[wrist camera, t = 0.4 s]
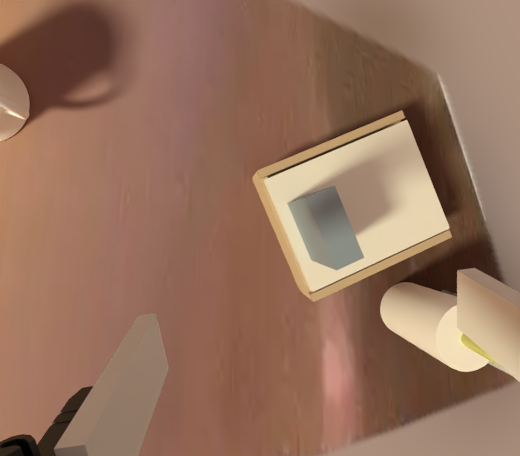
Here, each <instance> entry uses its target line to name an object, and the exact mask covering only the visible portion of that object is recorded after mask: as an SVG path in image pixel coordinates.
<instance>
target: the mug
mask: <svg viewBox="0 0 520 456" xmlns="http://www.w3.org/2000/svg"><path fill="white" fill-rule="evenodd" d="M29 108H30V101H29V95H28V91H27V89H26V87H25V85H24V83H23V81H22V80H21V79H20V77H19V76H18V75H17V74H16V73H15V72H14V71H12V70H11V69H10V68H8V67H6V66H5V65H3V64H1V63H0V142H1V141H4V140H6V139H8V138H10V137H12V136H13V135H15V134H16V133H17V132H18V131H19V130H20V129H21V128H22V126H23V125H24V123H25V122H26V119H27V118H28V117H29Z"/></svg>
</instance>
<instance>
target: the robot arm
mask: <svg viewBox="0 0 520 456" xmlns="http://www.w3.org/2000/svg"><path fill="white" fill-rule="evenodd" d="M457 328H458V329H460V330H461V331H462V332H463V333H464V334H465V335H466V336H468V337H469V338H470V339H471V340H472V341H473V342H474V343H476V344H477V345H478V346H479V347H480V348H481V349H482V350H484V351H485V352H486V353H487V354H488V355H489V356H490V357H492V358H493V359H494V360H495V361H496V362H497V363H498V364H500V365H501V366H502V367H503V368H504V369H505V370H506V371H508V372H509V373H510V374H511V375H512V376H513V377H515V378H516V379H517V380H518V381H519V382H520V292H518V291H516V290H514V289H513V288H511V287H509V286H507V285H505V284H503V283H502V282H500V281H498V280H496V279H494V278H492V277H491V276H489V275H487V274H485V273H483V272H481V271H480V270H478V269H476V268H470V269H463V270H457ZM168 369H169V368H168V363H167V359H166V355H165V350H164V346H163V342H162V337H161V333H160V329H159V324H158V320H157V316H156V313H154V314H147V315H140V316H138V317H137V319H136V320H135V322H134V323H133V325H132V326H131V328H130V330H129V331H128V333H127V334H126V336H125V337H124V339H123V341H122V342H121V344H120V345H119V347H118V348H117V350H116V352H115V353H114V355H113V356H112V358H111V359H110V361H109V363H108V364H107V366H106V367H105V369H104V371H103V372H102V374H101V375H100V377H99V378H98V380H97V382H96V383H95V385H94V386H91V387H84V388H82V389H81V390H79V391H78V392H77V393H76V394H75V395H74V396H72V397H71V398H70V399H69V400H68V402H67V403H66V404H65V406H64V407H63V409H62V410H61V412H60V415H58V416H57V417H56V419H55V420H54V422H53V425H52V426H50V427H49V429H48V430H47V432H46V433H45V434H44V436H43V437H42V439H41V440H40V442H39V443H38V444H36V441H35V439H34V438H33V437H32V436H31V435H24V434H22V435H17V436H13V437H10V438H8V439H6V440H3V441H1V442H0V456H138V455H139V452H140V449H141V446H142V443H143V440H144V438H145V435H146V432H147V429H148V426H149V423H150V420H151V418H152V415H153V412H154V409H155V406H156V403H157V400H158V398H159V395H160V392H161V389H162V386H163V383H164V380H165V378H166V375H167V372H168Z"/></svg>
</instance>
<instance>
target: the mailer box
mask: <svg viewBox="0 0 520 456" xmlns="http://www.w3.org/2000/svg"><path fill="white" fill-rule="evenodd" d="M404 118H405V116H404V114H403V111H399V112H397V113H394V114H392V115H390V116H387V117H385V118H382V119H380V120H378V121H375V122H373V123H370V124H368V125H366V126H363V127H361V128H358V129H356V130H354V131H351V132H349V133H346V134H344V135H342V136H339V137H337V138H334V139H332V140H330V141H327V142H325V143H322V144H320V145H318V146H315V147H313V148H310V149H308V150H306V151H303V152H301V153H298V154H296V155H294V156H291V157H289V158H286V159H284V160H282V161H279V162H277V163H274V164H272V165H270V166H267V167H265V168H262V169H260V170H258V171H257V172H256V173H255V175H254V176H253V178H252V180H253V182H254V185H255V187H256V189H257V192H258V194H259V196H260V199H261V201H262V203H263V206H264V208H265V210H266V213H267V215H268V217H269V220H270V222H271V224H272V227H273V229H274V232H275V234H276V236H277V239H278V241H279V243H280V246H281V248H282V250H283V253H284V255H285V257H286V260H287V262H288V264H289V267H290V269H291V271H292V274H293V276H294V278H295V281H296V283H297V285H298V288H299V290H300V291H301V292H302V293H303V294H305V295H306V296H307V297H308V298H309V299H311V300H312V301H313V302H315V301H317V300H319V299H321V298H323V297H325V296H328V295H330V294H332V293H334V292H336V291H338V290H340V289H343V288H345V287H347V286H349V285H351V284H353V283H355V282H357V281H360V280H362V279H364V278H366V277H368V276H370V275H372V274H374V273H377V272H379V271H381V270H383V269H385V268H387V267H389V266H392V265H394V264H396V263H398V262H400V261H402V260H404V259H406V258H409V257H411V256H413V255H415V254H417V253H419V252H421V251H423V250H426V249H428V248H430V247H432V246H434V245H436V244H438V243H440V242H443V241H445V240H447V239H449V238H451V237H452V236H451V233H450V231H449V230H445V231H443V232H441V233H438V234H436V235H434V236H432V237H430V238H428V239H426V240H423V241H421V242H419V243H417V244H415V245H413V246H410V247H408V248H406V249H404V250H402V251H400V252H398V253H395V254H393V255H391V256H389V257H387V258H385V259H383V260H380V261H378V262H376V263H374V264H372V265H370V266H368V267H365V268H363V269H361V270H359V271H357V272H355V273H353V274H350V275H348V276H346V277H344V278H342V279H340V280H338V281H335V282H333V283H331V284H329V285H327V286H325V287H322V288H320V289H318V290H316V291H314V292H312V291H310V289H309V287H308V285H307V282H306V280H305V278H304V275H303V273H302V271H301V268H300V266H299V263H298V261H297V259H296V256H295V254H294V252H293V249H292V247H291V245H290V242H289V240H288V238H287V235H286V233H285V230H284V228H283V226H282V223H281V221H280V219H279V216H278V214H277V212H276V209H275V207H274V205H273V202H272V200H271V197H270V195H269V193H268V190H267V188H266V186H265V183H264V180H265V179H267V178H270V177H272V176H275V175H277V174H279V173H282V172H284V171H286V170H289V169H291V168H294V167H296V166H298V165H301V164H303V163H305V162H308V161H310V160H313V159H315V158H317V157H320V156H322V155H324V154H327V153H329V152H332V151H334V150H336V149H339V148H341V147H343V146H346V145H348V144H351V143H353V142H355V141H358V140H360V139H362V138H365V137H367V136H370V135H372V134H374V133H377V132H379V131H381V130H384V129H386V128H389V127H391V126H393V125H396V124H398V123H400V122H401V121H400V120H402V119H404Z"/></svg>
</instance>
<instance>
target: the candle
mask: <svg viewBox="0 0 520 456" xmlns="http://www.w3.org/2000/svg"><path fill="white" fill-rule="evenodd" d="M380 311H381V317H382V319H383V322H384V323H385V325H386V326H387V327H388V328H389V329H390V330H392V331H393V332H395V333H396V334H398V335H400V336H401V337H403V338H404V339H406V340H408V341H409V342H411V343H412V344H414V345H416V346H417V347H419V348H420V349H422V350H424V351H425V352H427V353H429V354H430V355H432V356H433V357H435V358H437V359H438V360H440V361H441V362H443V363H445V364H446V365H448V366H449V367H451V368H453V369H456V370H458V371H465V372H469V371H474V370H477V369H479V368H481V367H483V366H485V365H486V364H487V363H488V362H489V361H492V362H494V363H496V364H498V363H497V362H496V361H495V360H494V359H493V358H492V357H490V356H489V355H488V354H487V353H486V352H485V351H484V350H482V349H481V348H480V347H479V346H478V345H477V344H476V343H474V342H473V341H472V340H471V339H470V338H469V337H468V336H466V335H465V334H464V333H463V332H462V331H461V330H460V329H458V328H457V294H456V293H453V294H452V293H450V292H448V291H446V290H443V289H442V290H441V292H440V291H437V290H433V289H430V288H427V287H424V286H420V285H417V284H414V283H409V282H402V283H398V284H396V285H394V286H392V287H391V288H390V289H388V290H387V292H386V293H385V295H384V296H383V299H382V301H381V307H380ZM498 365H500V364H498ZM500 366H501V365H500Z"/></svg>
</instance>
